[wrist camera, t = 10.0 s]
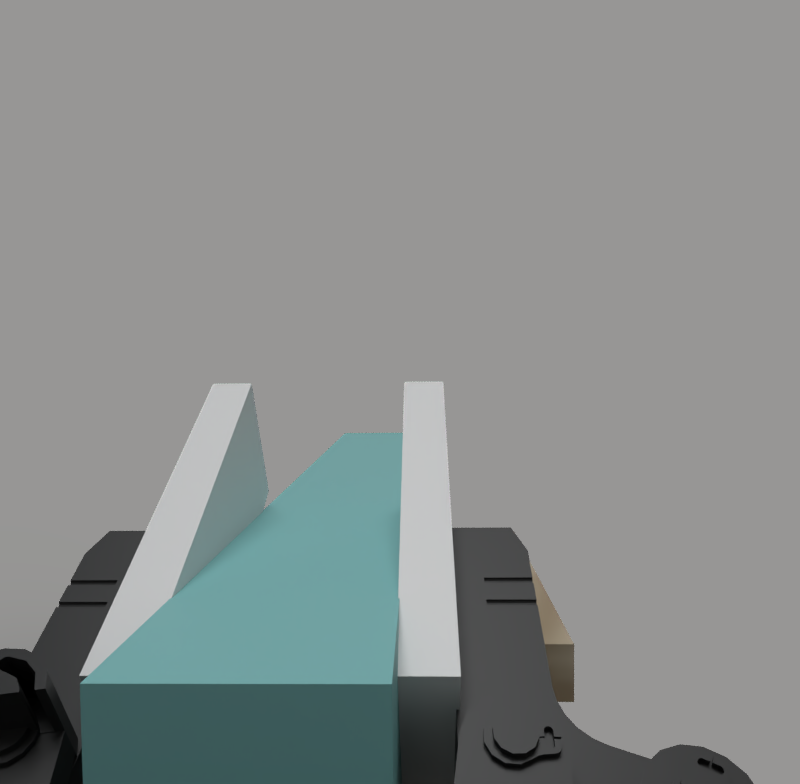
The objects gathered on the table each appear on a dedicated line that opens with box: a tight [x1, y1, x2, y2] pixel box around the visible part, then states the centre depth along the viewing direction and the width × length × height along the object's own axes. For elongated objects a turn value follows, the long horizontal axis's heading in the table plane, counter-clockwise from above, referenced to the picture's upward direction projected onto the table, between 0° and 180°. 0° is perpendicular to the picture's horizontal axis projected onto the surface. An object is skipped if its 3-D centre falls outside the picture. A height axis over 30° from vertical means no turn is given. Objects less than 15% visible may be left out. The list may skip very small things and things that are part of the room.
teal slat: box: [80, 433, 403, 784], centre depth 19 cm, size 3×24×2 cm, turn 179°
